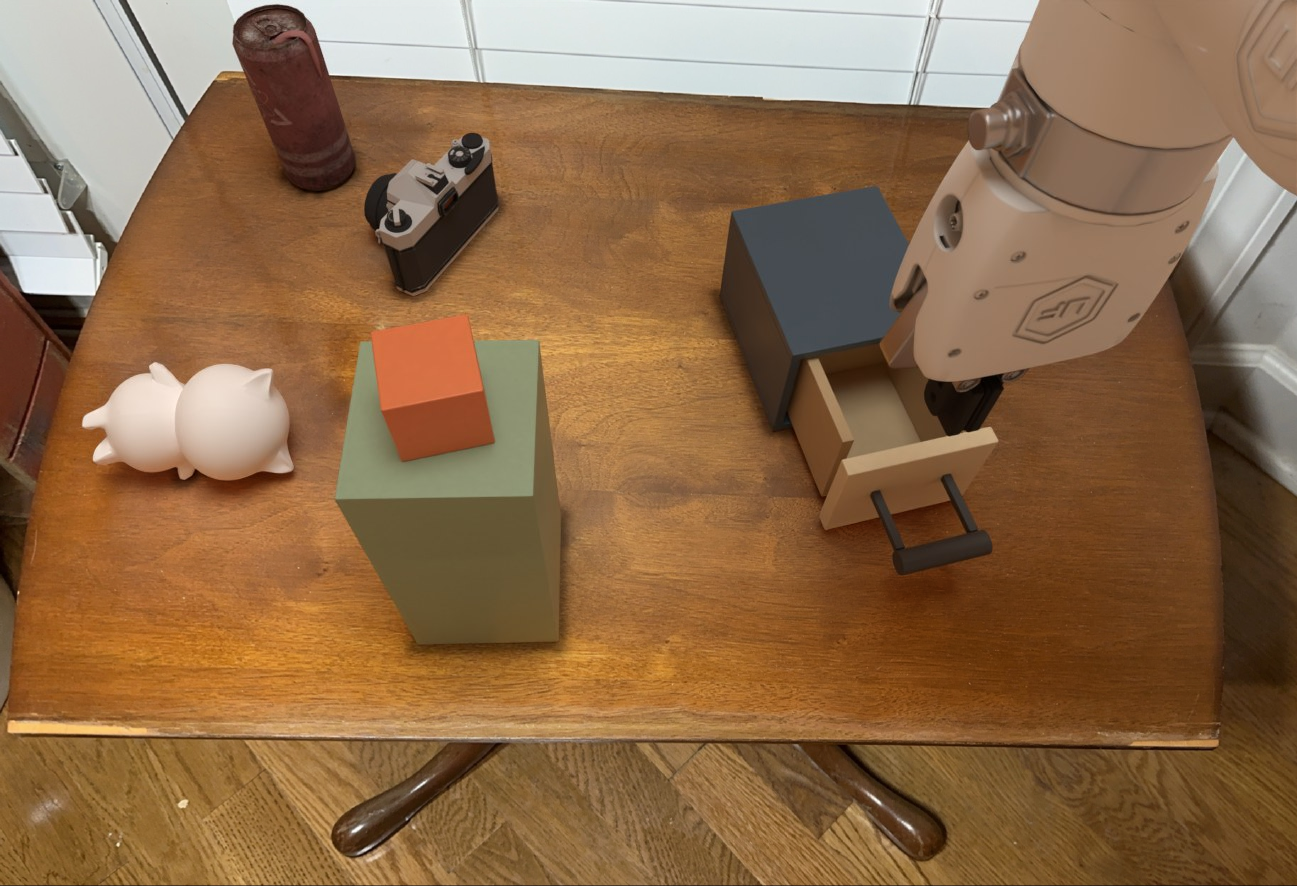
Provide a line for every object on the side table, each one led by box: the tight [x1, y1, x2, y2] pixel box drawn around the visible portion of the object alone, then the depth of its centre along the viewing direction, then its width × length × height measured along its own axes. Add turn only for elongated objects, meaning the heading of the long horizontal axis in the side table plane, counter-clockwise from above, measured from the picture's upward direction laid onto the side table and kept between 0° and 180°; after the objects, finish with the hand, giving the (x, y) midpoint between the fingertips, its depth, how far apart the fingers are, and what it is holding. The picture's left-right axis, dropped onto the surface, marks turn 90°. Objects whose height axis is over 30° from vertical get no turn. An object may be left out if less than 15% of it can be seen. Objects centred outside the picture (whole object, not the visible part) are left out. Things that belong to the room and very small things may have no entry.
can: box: [231, 3, 356, 192], centre depth 75 cm, size 6×6×14 cm
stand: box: [334, 339, 562, 646], centre depth 53 cm, size 9×9×20 cm
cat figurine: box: [81, 361, 295, 481], centre depth 64 cm, size 9×11×12 cm
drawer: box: [787, 343, 999, 577], centre depth 62 cm, size 18×10×8 cm, turn 15°
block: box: [370, 313, 495, 462], centre depth 42 cm, size 4×4×4 cm
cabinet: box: [719, 185, 910, 432], centre depth 68 cm, size 13×11×9 cm
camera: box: [363, 132, 500, 297], centre depth 73 cm, size 13×8×9 cm, turn 154°
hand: (950, 410), depth 48 cm, fingers closed
